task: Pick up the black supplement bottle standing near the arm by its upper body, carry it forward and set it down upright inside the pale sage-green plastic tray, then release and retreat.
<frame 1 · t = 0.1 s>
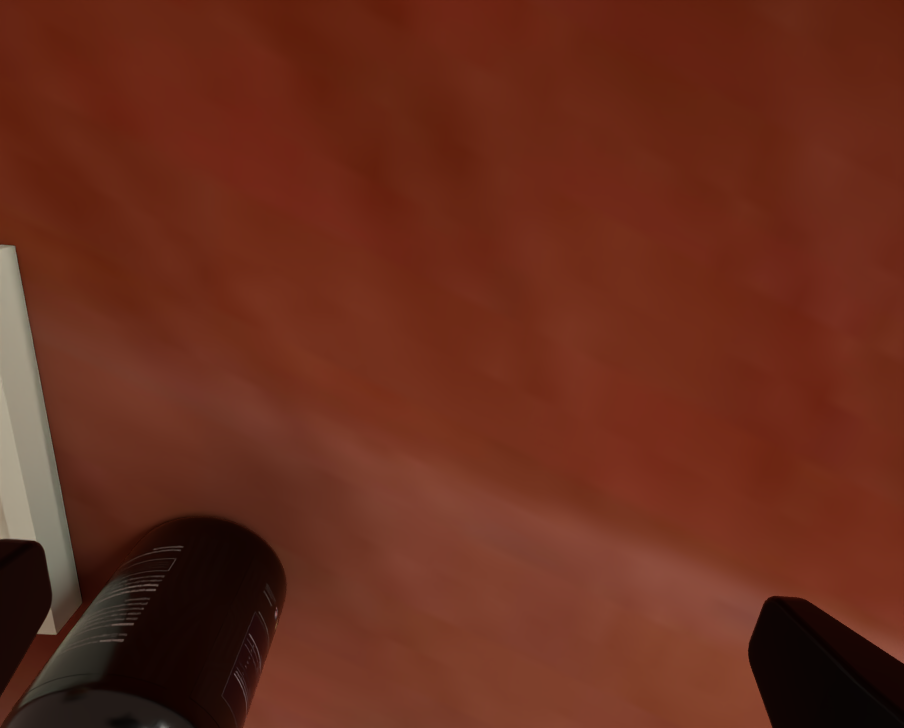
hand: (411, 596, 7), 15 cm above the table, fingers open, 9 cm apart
supplement bottle: (216, 571, 25), on the table
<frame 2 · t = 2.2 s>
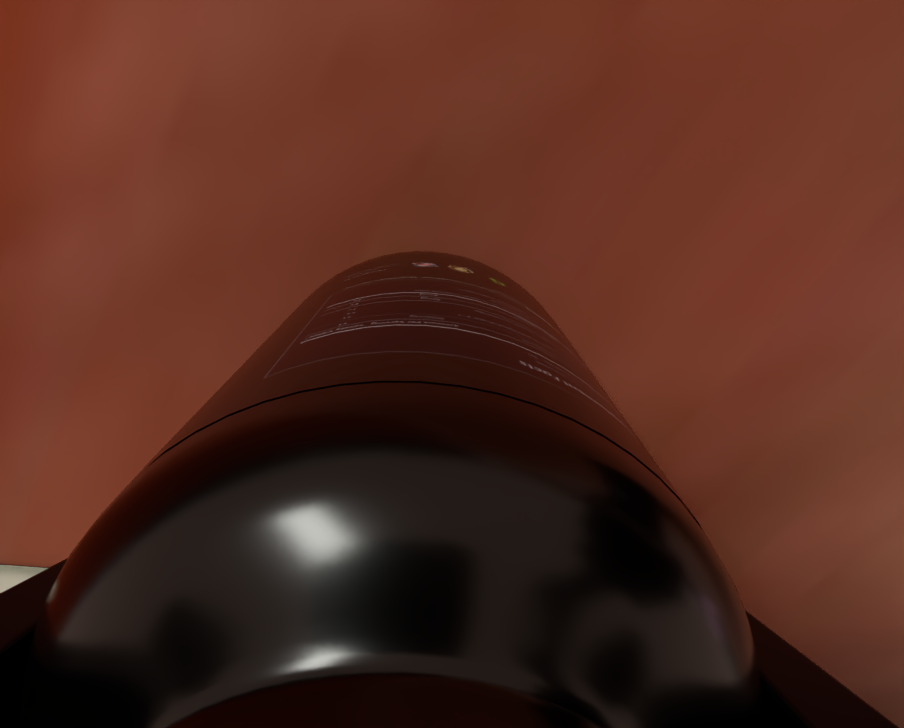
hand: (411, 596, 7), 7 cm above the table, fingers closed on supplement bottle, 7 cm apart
supplement bottle: (426, 387, 13), on the table, touching gripper
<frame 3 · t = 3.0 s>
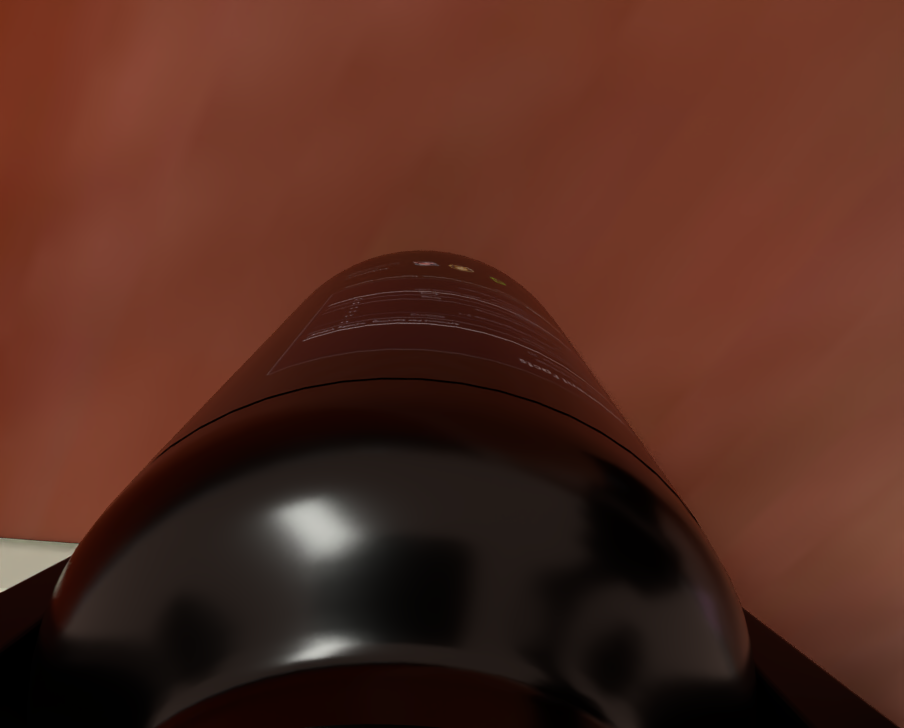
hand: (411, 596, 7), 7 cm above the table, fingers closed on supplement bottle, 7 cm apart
supplement bottle: (426, 385, 13), point 1 cm above the table, touching gripper
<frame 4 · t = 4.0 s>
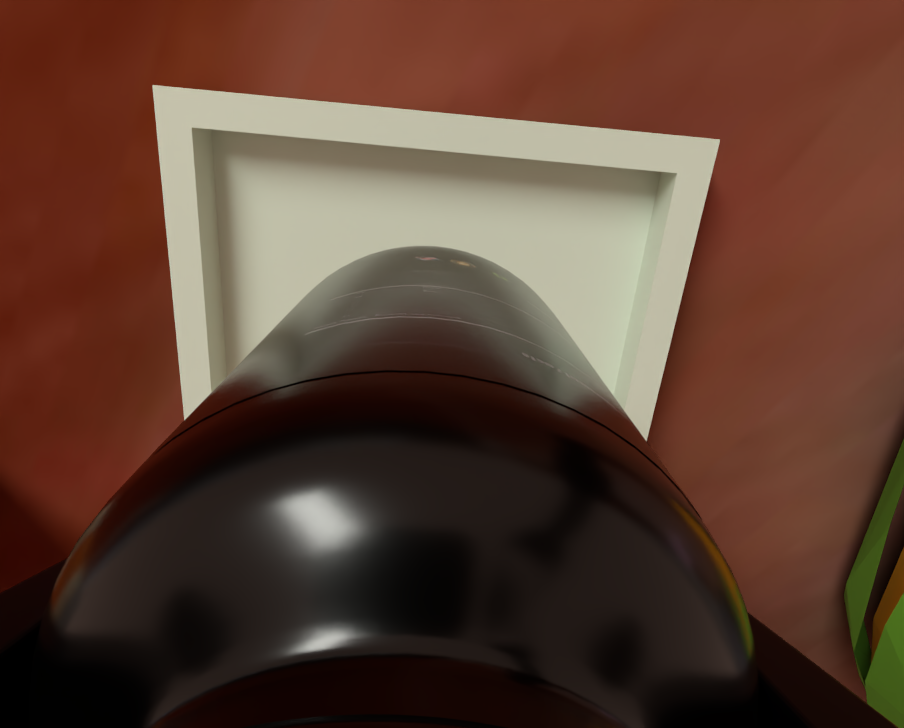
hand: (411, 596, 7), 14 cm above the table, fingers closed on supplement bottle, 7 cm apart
tray: (423, 355, 20), on the table
supplement bottle: (427, 381, 13), point 7 cm above the table, touching gripper
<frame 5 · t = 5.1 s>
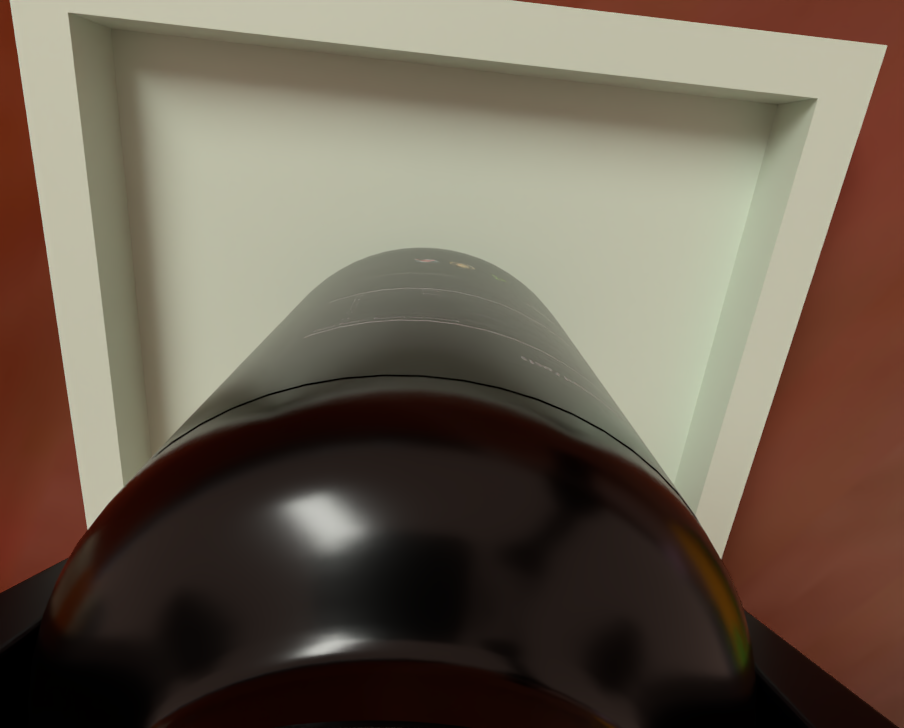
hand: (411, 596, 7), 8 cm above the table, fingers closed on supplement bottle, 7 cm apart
tray: (426, 371, 15), on the table
supplement bottle: (427, 382, 13), point 1 cm above the table, touching gripper
when the fingers open (8 cm above the table, at t = 6.0 s): supplement bottle stays where it is, resting on tray.
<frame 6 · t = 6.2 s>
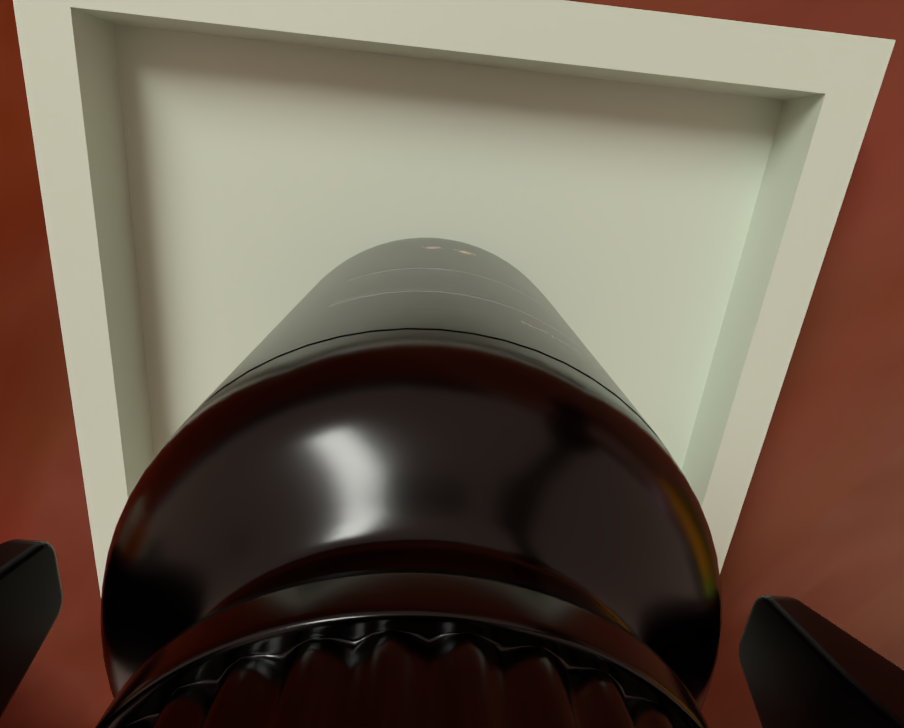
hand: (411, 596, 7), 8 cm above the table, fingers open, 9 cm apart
tray: (429, 369, 15), on the table
supplement bottle: (429, 366, 14), resting on tray
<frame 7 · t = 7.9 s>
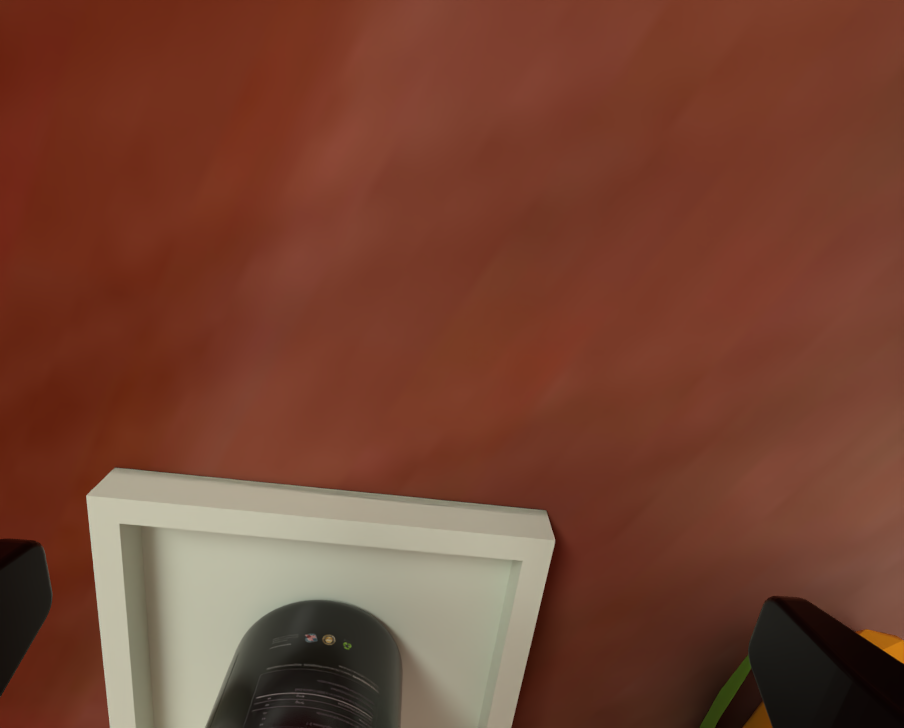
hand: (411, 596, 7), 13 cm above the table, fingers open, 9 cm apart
tray: (324, 651, 24), on the table
supplement bottle: (323, 653, 24), resting on tray
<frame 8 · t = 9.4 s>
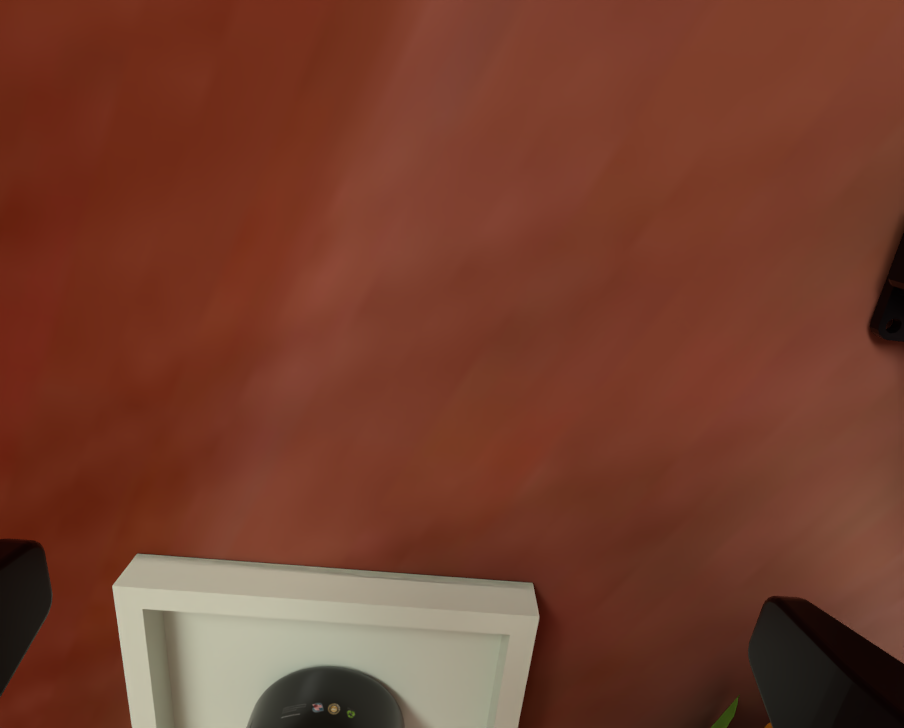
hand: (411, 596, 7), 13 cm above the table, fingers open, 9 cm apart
tray: (333, 710, 26), on the table
supplement bottle: (332, 711, 25), resting on tray
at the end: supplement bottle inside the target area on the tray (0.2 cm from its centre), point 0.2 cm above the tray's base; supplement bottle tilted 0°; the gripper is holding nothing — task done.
